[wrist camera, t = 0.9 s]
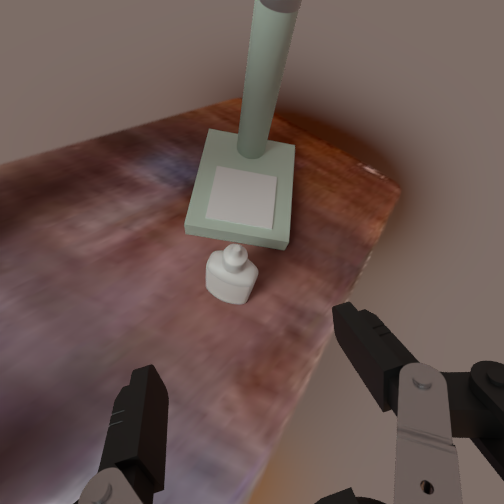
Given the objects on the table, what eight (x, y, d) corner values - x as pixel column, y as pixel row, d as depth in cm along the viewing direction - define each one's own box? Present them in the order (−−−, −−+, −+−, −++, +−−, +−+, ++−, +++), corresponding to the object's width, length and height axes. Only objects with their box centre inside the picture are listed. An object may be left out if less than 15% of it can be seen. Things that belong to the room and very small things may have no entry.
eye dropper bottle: (227, 317, 36) (237, 284, 25) (201, 282, 37) (199, 238, 27) (254, 296, 37) (274, 258, 27) (228, 264, 39) (236, 215, 28)
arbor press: (324, 257, 41) (678, -155, 10) (185, 233, 40) (112, -328, 9) (324, 162, 50) (522, -227, 18) (208, 140, 48) (213, -324, 17)
